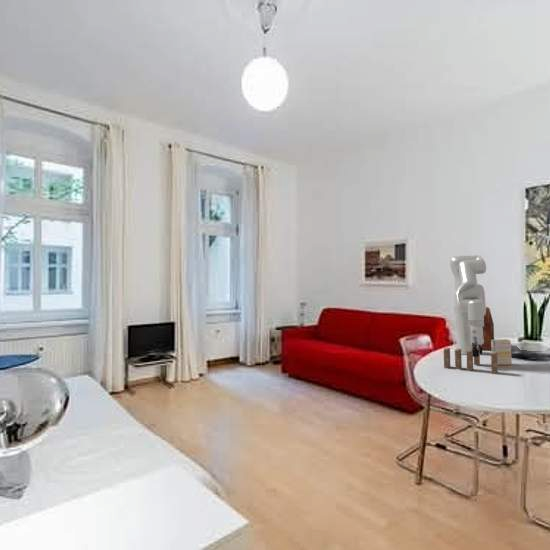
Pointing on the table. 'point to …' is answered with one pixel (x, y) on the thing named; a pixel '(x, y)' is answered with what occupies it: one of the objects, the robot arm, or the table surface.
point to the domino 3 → (469, 360)
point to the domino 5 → (494, 362)
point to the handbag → (488, 330)
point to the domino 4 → (477, 358)
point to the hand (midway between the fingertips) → (477, 355)
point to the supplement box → (502, 351)
